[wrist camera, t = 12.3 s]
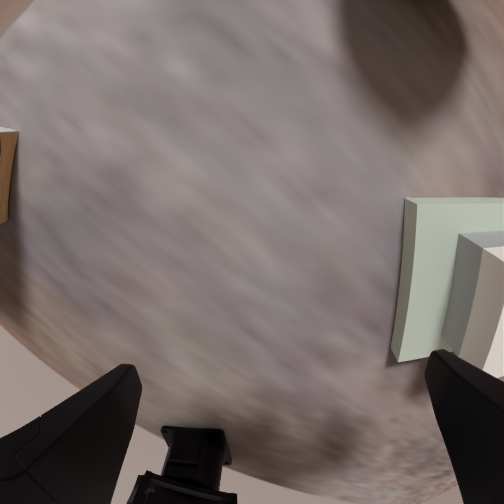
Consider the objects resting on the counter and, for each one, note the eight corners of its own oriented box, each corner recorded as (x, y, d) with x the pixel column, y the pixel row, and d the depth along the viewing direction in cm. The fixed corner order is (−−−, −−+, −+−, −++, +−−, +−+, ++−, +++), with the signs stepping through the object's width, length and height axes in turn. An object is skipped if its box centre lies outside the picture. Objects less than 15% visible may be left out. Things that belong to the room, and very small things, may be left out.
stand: (499, 325, 22) (509, 336, 20) (390, 347, 23) (398, 362, 21) (522, 198, 18) (537, 203, 16) (404, 198, 19) (417, 204, 17)
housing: (507, 230, 17) (560, 259, 12) (488, 324, 20) (526, 367, 14) (458, 233, 18) (512, 267, 12) (441, 334, 20) (476, 384, 15)
